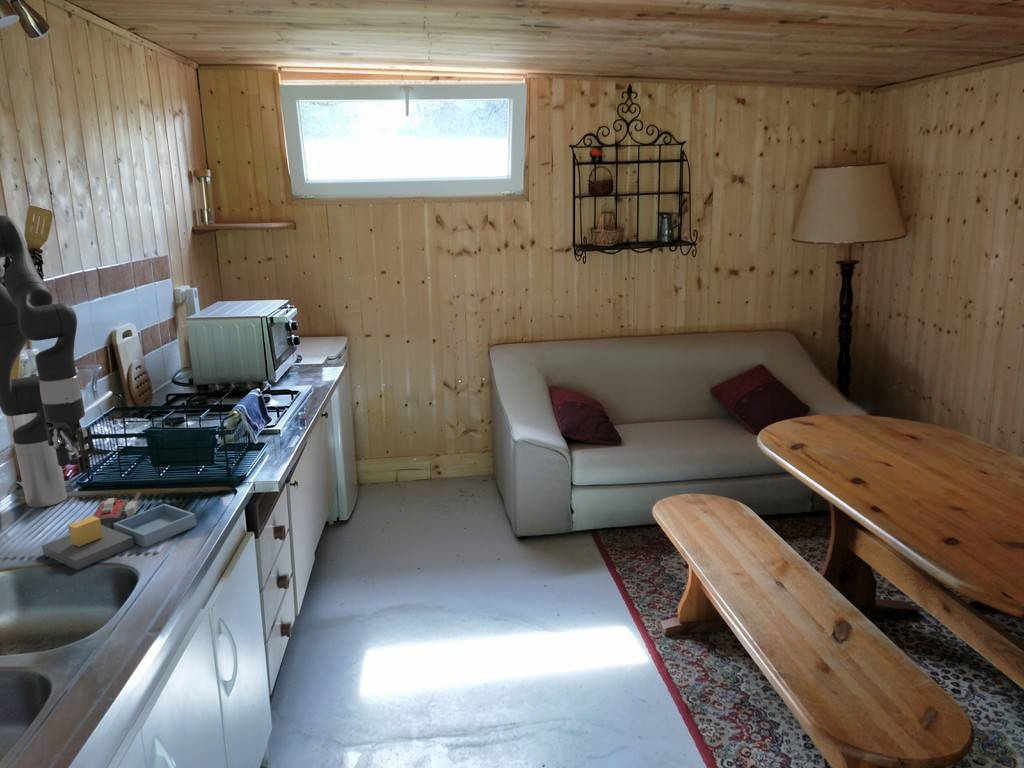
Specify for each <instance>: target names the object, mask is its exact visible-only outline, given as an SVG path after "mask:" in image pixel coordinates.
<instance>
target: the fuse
mask: <svg viewBox="0 0 1024 768" xmlns="http://www.w3.org/2000/svg"><path fill="white" fill-rule="evenodd" d="M67 529H68V533H69V534H68V535H70V539H71V544H73V545H76V546H77V547H79V546H82V545H84V544H87V543H89V542H92V541H94V540H97V539H99V538H102V537H103V533H102V527H101V522H100V518H97V517H94V516H93V515H91V516H88V517H86V518H84V519H81V520H77V521H75V522H73V523H70V524H68V525H67Z"/></svg>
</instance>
